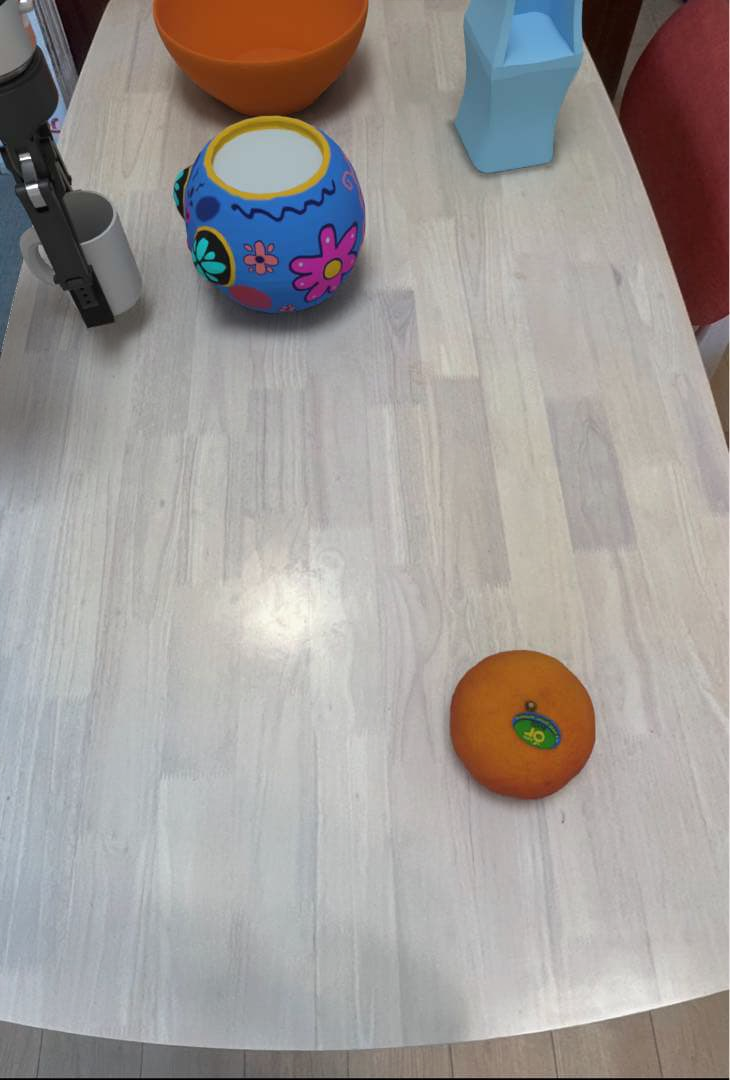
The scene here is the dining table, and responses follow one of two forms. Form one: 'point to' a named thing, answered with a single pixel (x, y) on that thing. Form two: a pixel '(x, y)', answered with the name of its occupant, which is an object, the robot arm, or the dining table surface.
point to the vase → (516, 79)
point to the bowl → (262, 48)
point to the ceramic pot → (272, 213)
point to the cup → (94, 249)
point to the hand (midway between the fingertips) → (95, 293)
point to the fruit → (522, 724)
